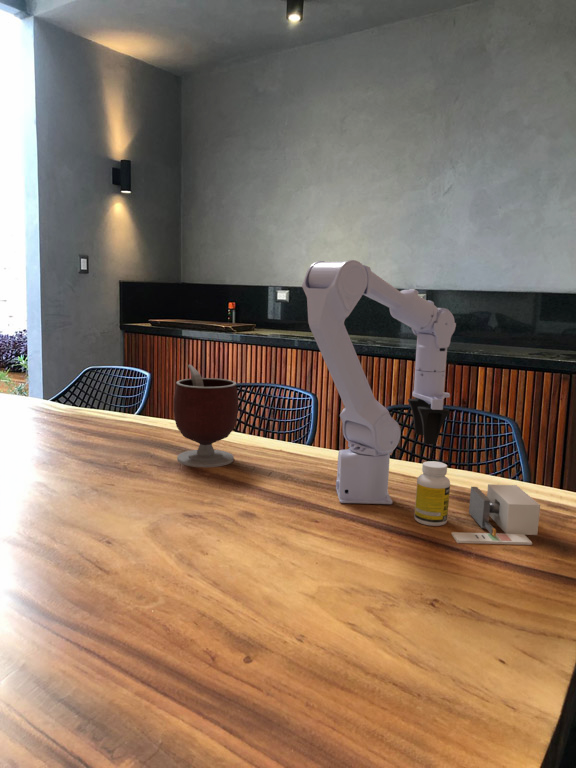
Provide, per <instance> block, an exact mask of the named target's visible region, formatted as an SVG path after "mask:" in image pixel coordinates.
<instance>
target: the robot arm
mask: <svg viewBox="0 0 576 768" xmlns="http://www.w3.org/2000/svg"><path fill="white" fill-rule="evenodd" d="M301 287H302V290H303V292H304V294H305V297H306V301H307V303H306V304H307V324H308V325H309V330H310V331H311V333H312V335H313V338H314V340H315V343H316V345H317V347H318V349H319V352H320V354H321V357H322V358H323V361H324V363H325V365H326V367H327V370H328V372H329V374H330V376H331V378H332V381H333V383H334V385H335V388H336V390H337V393H338V395H339V396H340V399H341V401H342V404H343V406H344V408H343V409H342V411H341V412H340V414H339V417H340V420H341V422H342V434H343V437H344V439H345V440H346V441H347V442H348V443H347V447H348V448H347V449H340V450H339V451H338V456H337V467H336V469H337V471H336V480H335V490H336V494H337V497H338V500H339V503H341V504H369V505H370V504H373V505H392V504H393V499H392V497H391V496H390V494H389V492H388V491H389V490H388V489H389V475H390V474H389V472H390V457H391V456H390V455H392V454H393V452H394V450H395V449H396V448H397V446H398V445H399V443H400V440H401V433H402V432H401V426H400V425H399V422H398V421H397V420H395V419H394V418H393V417H392V416H391V414H390V411H389V410H388V408H386V407H385V406H384V405H383V404H381V403H380V402H379V401H378V400H377V399H376V398H375V395H374V394H373V390H372V388H371V385H370V384H369V381H368V379H367V376H366V373H365V371H364V369H363V367H362V364H361V361H360V359H359V356H358V355H357V352H356V350H355V346H354V345H353V343H352V340H351V338H350V335H349V333H348V330H347V328H346V325H345V320H346V319H347V318H348V317H349V316H350V314H351V313H352V312H353V310H354V309H355V307H356V306H357V304H358V302H359V301H360V299H361V298H362V296H365V297H367V298H368V299H370V300H373V301H375V302H377V303H379V304H381V305H383V306H385V307H387V308H389V313H390V316H391V317H392V318H393V319H395V320H397V321H398V322H400V323H402V324H404V325H406V326H407V327H410V329H411V331H412V333H413V335H414V336H416V347H415V363H414V378H413V379H414V380H413V381H414V382H413V391H412V397H413V398H408V399H407V402H408V404H409V406H410V409H411V413H412V417H413V427H414V433H415V435H416V436H417V435H418V436H420V435H421V436H423V437H422V438H423V443H424V444H425V445H436V444H437V443H438V439H439V437H440V433H441V430H442V428H443V424H444V423H445V420H446V419H447V418H448V416H449V414H450V409H448V408H444V399H445V398H448V399H449V398H450V397H451V394H450V393H449V392H445V384H446V383H445V382H446V379H445V378H446V371H447V370H446V367H447V358H448V357H447V355H448V348H449V347H450V345H451V339H452V336H453V334H454V333H455V331H456V327H457V323H456V322H455V317H454V315H453V313H452V312H451V311H450V310H449V309H448V308H444V307H438V306H436V305H435V302H434V301H432V300H429V299H428V300H426V298H423V297H422V296H420V295H419V291H418V290H417V289H415V288H409V289H403V290H399V289H397V288H396V287H394V286H393V285H392V284H390V283H388V282H387V281H386V280H385V279H383V278H381V277H380V276H379V275H377V274H376V273H374V272H373V271H372V270H371V267H370V266H367V265H365V264H363V263H361V262H360V261H358V260H356V259H349V260H347V261H345V260H344V261H343V260H341V261H339V260H338V261H325V260H317V261H315V262H313V263H311V265H310V266H309V267H308V269H307V270H306V273H305V276H304V278H303V281H302V284H301Z"/></svg>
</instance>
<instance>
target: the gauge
mask: <svg viewBox="0 0 576 768" xmlns="http://www.w3.org/2000/svg"><path fill="white" fill-rule="evenodd" d="M486 493H487V494H486V497H487V498H488V499H489V500H490V503H500V508H499V513H489V518H491V520H492V521H494V522H495V524H496V525H497V526H498V527H499V528H500V529H501V530H502V532H503V533H497V532H496V536H493V535H492V534H491V533H490V532H460V531H459V532H456V531H452V532H451V536H452V538H453V539H454V541H455V542H456V543H457V544H478V545H479V544H480V545H481V544H483V545H485V544H487V545H517V546H518V545H520V546H521V545H522V546H523V545H524V546H525V545H527V546H532V545H533V542H532V541H531V540H530V539H529V537H527V536H528V535H529V536H538V531H539V530H538V529H539V522H540V521H539V520H540V513H541V512H540V511H541V504H540V503H539V502H538V501H536V500H535V499H534V498H532V496H530V495H529V494H528V493H527V492H526V491H524V490H523V489H522V488H521V487H519V486H518V485H517V484H487V491H486Z"/></svg>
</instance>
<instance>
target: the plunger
mask: <svg viewBox="0 0 576 768" xmlns="http://www.w3.org/2000/svg"><path fill="white" fill-rule="evenodd" d="M469 495H470V496H469V506H468V507H469V509H468V514H469V516H471V517H472V518H473V519H474V520H475V522H476V523H477V524H478V526H479V527H480V528H481V529H486V530H487V531H488V533H491V534H492V535H493V536H496V533H497V529H496V527H493V525H492V524H491V523H490V522H489V521H490V516H489V513H499V508H500V503H490V500H489V499H488V498H487V495H486V494H485V493H484V492H482V490H481V489H480V488H479V487H478V486H471V487H470V494H469Z"/></svg>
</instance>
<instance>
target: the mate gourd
mask: <svg viewBox="0 0 576 768" xmlns="http://www.w3.org/2000/svg"><path fill="white" fill-rule="evenodd" d="M187 368H188V369H189V371H190V375H191V376H190V377H191V378H185V379H180V380H177V381H176V382H175V383H176V386H175V390H174V396H173V414H174V415H173V417H174V422H175V424H176V426H175V427H176V428H177V429H178V431H179V432H180V433H181V436H183V437H184V438H186V439H188V440H190V441H193V442H195V443H197V444H199V446H198V448H197V449H191V450H186V451H184V452H183V451H182V452H181V453H179V454H177V457H176V460H177V462H178V463H179V464H180V465H184V466H186V467H187V466H188V467H194V468H215V467H218V468H219V467H223V466H224V467H225V466H226V465H229V464H231V463H233V462H234V455H233V454H232V453H231V452H228V451H225V450H219V449H214V447H213V445H212V444H214V443H216V442H219V441H222V440H223V439H226V438H228V437H229V436H230V434H232V431H234V429H235V428H236V425H237V422H238V421H237V420H238V414H239V395H238V394H239V393H238V388H237V381H235V380H234V381H233V380H231V379H230V380H229V379H226V378H217V377H216V378H215V377H213V378H212V377H211V378H210V377H209V378H208V377H204V378H203V377H202V375H201V373H200V372H199V371H198V370H197V369H196V368H195V367H194V366H193V365H192V364H188V365H187Z"/></svg>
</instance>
